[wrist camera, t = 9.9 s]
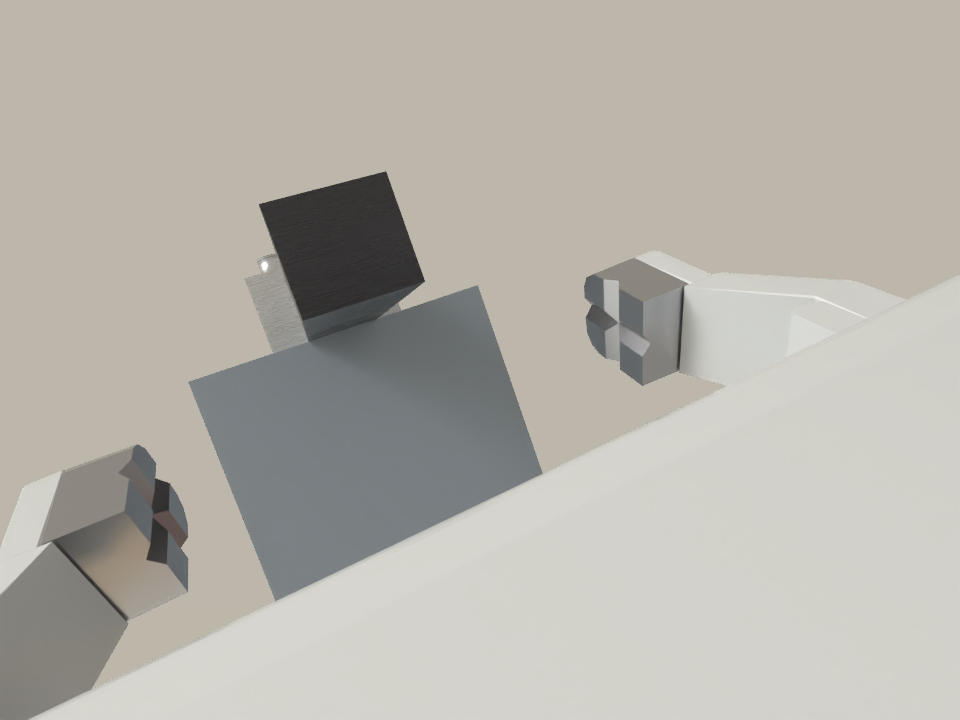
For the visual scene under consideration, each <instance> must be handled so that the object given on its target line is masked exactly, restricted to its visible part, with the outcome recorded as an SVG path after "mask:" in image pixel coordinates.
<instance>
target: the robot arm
mask: <svg viewBox="0 0 960 720" xmlns="http://www.w3.org/2000/svg"><path fill="white" fill-rule="evenodd" d="M584 289H585V290H584V291H585V298H586V299H587V301H588V302H589V303H590V304H592V306H591V308H590V310H589V312H588V315H587V316H586V324H587V333H588V335H589V337H590V340H591V342H592V345H593V346H594V347H595V349H596V350H597V351H598V353H600V354H601V355H602V356H603V357H605V358H606V359H611V360H616V361H620V370H622V371H623V372H625V373H626V374H627V375H629V376H630V377H631V378H633V379H634V380H635V381H637V382H638V383H639V384H641V385H642V386H644V385H646V384H648V383H651V382H653V381H655V380H658V379H660V378H662V377H665V376H667V375H670V374H672V373H674V372H677V371H679V372H680V373H683V374H687V375H690V376H693V377H697V378H700V379H704V380H707V381H711V382H714V383H718V384H722V385H725V387H723V388H721V389H719V390H717V391H715V392H712V393H710V394H709V395H706V396H704V397H702V398H700V399H698V400H696V401H694V402H692V403H689V404H687V405H685V406H683V407H681V408H679V409H677V410H675V411H673V412H671V413H669V414H666V415H664V416H662V417H660V418H658V419H656V420H654V421H652V422H650V423H648V424H646V425H644V426H642V427H639V428H637V429H635V430H633V431H631V432H629V433H627V434H625V435H623V436H620V437H618V438H616V439H614V440H612V441H610V442H608V443H606V444H604V445H602V446H600V447H597V448H595V449H593V450H591V451H589V452H587V453H585V454H583V455H581V456H579V457H577V458H574V459H573V460H570V461H568V462H566V463H564V464H562V465H560V466H558V467H556V468H554V469H551V470H549V471H547V472H545V473H543V474H541V475H539V476H537V477H535V478H533V479H531V480H528V481H526V482H524V483H522V484H520V485H518V486H516V487H514V488H512V489H510V490H508V491H505V492H503V493H501V494H499V495H497V496H495V497H493V498H491V499H489V500H487V501H485V502H482V503H480V504H478V505H476V506H474V507H472V508H470V509H468V510H466V511H464V512H462V513H459V514H457V515H455V516H453V517H451V518H449V519H447V520H445V521H443V522H441V523H438V524H436V525H434V526H432V527H430V528H428V529H426V530H424V531H422V532H420V533H418V534H415V535H413V536H411V537H409V538H407V539H405V540H403V541H401V542H399V543H397V544H395V545H392V546H390V547H388V548H386V549H384V550H382V551H380V552H378V553H376V554H374V555H372V556H369V557H367V558H365V559H363V560H361V561H359V562H357V563H355V564H353V565H351V566H348V567H346V568H344V569H342V570H340V571H338V572H336V573H334V574H332V575H330V576H328V577H325V578H323V579H321V580H319V581H317V582H315V583H313V584H311V585H309V586H307V587H305V588H302V589H300V590H298V591H296V592H294V593H292V594H290V595H288V596H286V597H284V598H281V599H279V600H277V601H275V602H273V603H271V604H269V605H267V606H265V607H263V608H261V609H258V610H257V611H254V612H252V613H250V614H248V615H246V616H244V617H242V618H240V619H238V620H235V621H233V622H231V623H229V624H227V625H225V626H223V627H221V628H219V629H217V630H214V631H212V632H210V633H208V634H206V635H204V636H202V637H200V638H198V639H196V640H194V641H191V642H189V643H187V644H185V645H183V646H181V647H179V648H177V649H175V650H173V651H171V652H169V653H166V654H164V655H162V656H160V657H158V658H156V659H154V660H152V661H150V662H147V663H145V664H143V665H141V666H139V667H137V668H135V669H133V670H131V671H129V672H127V673H124V674H122V675H120V676H118V677H116V678H114V679H112V680H110V681H108V682H106V683H104V684H102V685H100V686H97V687H95V688H93V689H92V687H93V685H94V684H95V682H96V680H97V679H98V677H99V675H100V673H101V671H102V670H103V668H104V666H105V664H106V662H107V661H108V659H109V657H110V655H111V654H112V652H113V650H114V648H115V647H116V645H117V643H118V642H119V640H120V638H121V636H122V635H123V633H124V631H125V629H126V628H127V625H128V622H127V621H129V620H131V619H133V618H135V617H137V616H139V615H141V614H143V613H145V612H147V611H150V610H152V609H154V608H156V607H158V606H160V605H162V604H164V603H166V602H168V601H170V600H172V599H175V598H177V597H179V596H181V595H183V594H185V593H187V592H188V558H187V556H186V555H185V554H184V552H183V551H182V549H181V547H182V545H183V544H184V542H185V541H186V539H187V538H188V525H187V520H186V516H185V512H184V508H183V506H182V504H181V502H180V500H179V498H178V495H177V494H176V492H175V491H174V489H173V488H172V487H171V485H170V483H167V482H164V481H161V480H158V479H155V473H156V463H155V461H154V460H153V459H152V458H151V456H150V455H149V453H148V452H147V450H146V449H145V448H143V447H141V446H140V445H134V446H132V447H129V448H126V449H123V450H121V451H118V452H115V453H112V454H109V455H106V456H104V457H101V458H98V459H95V460H92V461H89V462H87V463H84V464H81V465H78V466H75V467H73V468H70V469H68V470H66V471H60V472H57V473H55V474H52V475H50V476H47V477H45V478H42V479H40V480H37V481H35V482H32V483H30V484H28V485H27V486H25V487H23V489H22V491H21V494H20V497H19V499H18V502H17V505H16V507H15V510H14V513H13V516H12V518H11V521H10V524H9V526H8V529H7V532H6V534H5V537H4V539H3V542H2V545H1V548H0V720H960V274H959V275H957V276H955V277H953V278H951V279H949V280H947V281H945V282H942V283H940V284H938V285H936V286H934V287H932V288H930V289H928V290H926V291H924V292H922V293H920V294H917V295H915V296H913V297H911V298H909V299H907V300H906V299H903V298H900V297H898V296H895V295H892V294H889V293H886V292H884V291H881V290H878V289H875V288H873V287H869V286H867V285H864V284H862V283H859V282H856V281H851V280H833V279H818V278H800V277H785V276H768V275H753V274H737V273H736V274H735V273H721V272H720V273H716V274H714V275H712V274H709V273H707V272H705V271H703V270H700V269H698V268H696V267H694V266H691V265H689V264H687V263H684V262H682V261H680V260H678V259H675V258H673V257H671V256H668V255H666V254H664V253H661V252H659V251H649V252H647V253H644V254H642V255H640V256H637V257H635V258H633V259H630V260H628V261H625V262H623V263H620V264H618V265H615V266H613V267H610V268H608V269H605V270H603V271H600V272H598V273H596V274H593V275H591V276H589V277H587V278H586V282H585V285H584Z"/></svg>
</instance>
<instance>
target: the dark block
mask: <svg viewBox="0 0 960 720" xmlns="http://www.w3.org/2000/svg"><path fill="white" fill-rule="evenodd" d="M259 206H260V209H261V212H262V215H263V217H264V221H265V223H266V226H267V229H268V232H269V235H270V238H271V241H272V244H273V246H274V249H275V252H276V254H271V255H267V256H264V257H261V258H260V259H258V260H257V263H258V266H259V269H260V271H261V274H259V275H256V276H252V277H249V278H245V281H246V283H247V286H248V289H249V291H250V294H251V296H252V299H253V301H254V304H255V307H256V310H257V312H258V315H259V317H260V320H261V323H262V325H263V328H264V330H265V333H266V336H267V338H268V341H269V343H270V346H271V349H272V351H273V353H276V352H279V351H282V350H285V349H288V348H291V347H294V346H297V345H300V344H303V343H306V342H309V341H312V340H315V339H318V338H321V337H324V336H327V335H330V334H333V333H336V332H339V331H342V330H345V329H348V328H351V327H354V326H357V325H360V324H363V323H366V322H369V321H372V320H375V319H378V318H381V317H384V316H387V315H390V314H393V313H396V312H399V311H401V309H400V306H399V304H398V302H399V301H400V300H402V299H403V298H404V297H406V296H407V295H408V294H409V293H411V292H412V291H413V290H415V289H416V288H417V287H418V286H420V285H421V284H422V283H424V282H425V280H424V277H423V275H422V272H421V269H420V266H419V263H418V261H417V258H416V255H415V252H414V250H413V246H412V244H411V241H410V238H409V235H408V232H407V230H406V226H405V224H404V221H403V218H402V215H401V212H400V209H399V207H398V204H397V201H396V198H395V196H394V192H393V190H392V187H391V184H390V181H389V178H388V176H387V173H386V172H382V173H378V174H375V175H370V176H366V177H363V178H359V179H355V180H351V181H347V182H343V183H340V184H335V185H332V186H328V187H324V188H320V189H316V190H312V191H308V192H305V193H300V194H297V195H293V196H289V197H285V198H281V199H277V200H273V201H269V202H266V203H262V204H259Z"/></svg>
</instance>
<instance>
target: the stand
mask: <svg viewBox="0 0 960 720" xmlns="http://www.w3.org/2000/svg"><path fill="white" fill-rule="evenodd" d="M189 385H190V387H191V390H192V392H193V395H194V397H195V400H196V402H197V405H198V407H199V410H200V412H201V415H202V417H203V420H204V422H205V425H206V427H207V430H208V432H209V435H210V437H211V440H212V442H213V445H214V447H215V450H216V452H217V455H218V458H219V460H220V463H221V465H222V468H223V470H224V473H225V475H226V478H227V480H228V483H229V485H230V488H231V490H232V493H233V495H234V498H235V500H236V503H237V505H238V508H239V510H240V513H241V515H242V518H243V520H244V523H245V525H246V528H247V530H248V533H249V535H250V538H251V540H252V543H253V545H254V548H255V550H256V553H257V555H258V558H259V560H260V563H261V565H262V568H263V570H264V573H265V575H266V578H267V580H268V583H269V585H270V588H271V590H272V593H273V595H274V598H275V601H277V600H279V599H281V598H284V597H286V596H288V595H290V594H292V593H294V592H296V591H298V590H300V589H302V588H305V587H307V586H309V585H311V584H313V583H315V582H317V581H319V580H321V579H323V578H325V577H328V576H330V575H332V574H334V573H336V572H338V571H340V570H342V569H344V568H346V567H348V566H351V565H353V564H355V563H357V562H359V561H361V560H363V559H365V558H367V557H369V556H372V555H374V554H376V553H378V552H380V551H382V550H384V549H386V548H388V547H390V546H392V545H395V544H397V543H399V542H401V541H403V540H405V539H407V538H409V537H411V536H413V535H415V534H418V533H420V532H422V531H424V530H426V529H428V528H430V527H432V526H434V525H436V524H438V523H441V522H443V521H445V520H447V519H449V518H451V517H453V516H455V515H457V514H459V513H462V512H464V511H466V510H468V509H470V508H472V507H474V506H476V505H478V504H480V503H482V502H485V501H487V500H489V499H491V498H493V497H495V496H497V495H499V494H501V493H503V492H505V491H508V490H510V489H512V488H514V487H516V486H518V485H520V484H522V483H524V482H526V481H528V480H531V479H533V478H535V477H537V476H539V475H541V474H543V473H542V471H541V468H540V465H539V462H538V459H537V456H536V453H535V450H534V447H533V444H532V441H531V439H530V436H529V433H528V430H527V427H526V424H525V421H524V418H523V416H522V412H521V410H520V407H519V404H518V401H517V398H516V395H515V392H514V389H513V387H512V384H511V381H510V378H509V375H508V372H507V369H506V366H505V363H504V360H503V358H502V355H501V352H500V349H499V346H498V343H497V340H496V337H495V334H494V331H493V328H492V326H491V323H490V320H489V317H488V314H487V311H486V308H485V305H484V302H483V300H482V297H481V294H480V291H479V288H478V286H474V287H471V288H468V289H465V290H462V291H459V292H456V293H453V294H450V295H447V296H444V297H441V298H438V299H435V300H432V301H429V302H426V303H423V304H420V305H417V306H414V307H411V308H409V309H405V310H402V311H399V312H396V313H393V314H390V315H387V316H384V317H381V318H378V319H375V320H372V321H369V322H366V323H363V324H360V325H357V326H354V327H351V328H348V329H345V330H342V331H339V332H336V333H333V334H330V335H327V336H324V337H321V338H318V339H315V340H312V341H309V342H306V343H303V344H300V345H297V346H294V347H291V348H288V349H285V350H282V351H279V352H276V353H273V354H270V355H268V356H264V357H262V358H259V359H256V360H253V361H250V362H247V363H244V364H241V365H238V366H235V367H232V368H229V369H226V370H223V371H220V372H217V373H214V374H211V375H208V376H205V377H202V378H199V379H196V380H193V381H190V382H189Z"/></svg>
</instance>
